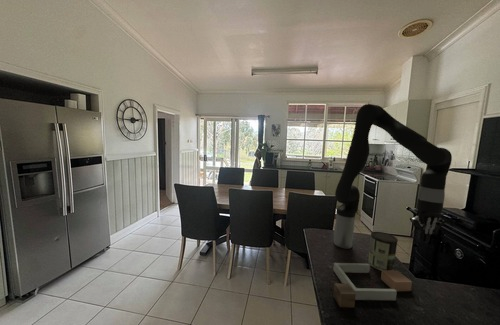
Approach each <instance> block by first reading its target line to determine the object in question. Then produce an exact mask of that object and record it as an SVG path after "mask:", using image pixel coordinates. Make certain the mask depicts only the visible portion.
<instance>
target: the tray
mask: <svg viewBox="0 0 500 325" xmlns="http://www.w3.org/2000/svg"><path fill="white" fill-rule="evenodd" d="M370 267H371V265H370V264H369V263H360V262H359V263H355V262H354V263H353V262H351V263H350V262H334V263H333V270H332V271H333V272H334V273H335V275H336V276H337V278H338V279H339V280H340V282H341V284H349V286H350V287H351V288H352V290H353V291H354V292H355V294H356V297H355V301H396V300H397V294H398V293H397V292H398V291H396V290H395V289H391V288H365V287H364V288H363V287H362V288H361V287H356V285H355V284H354V283H353V282H352V281H351V279H350V278H349V277H348V275H347V274H346V273H353V274H355V273H356V274H358V273H359V274H361V273H362V274H369V273H370V269H371V268H370Z"/></svg>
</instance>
